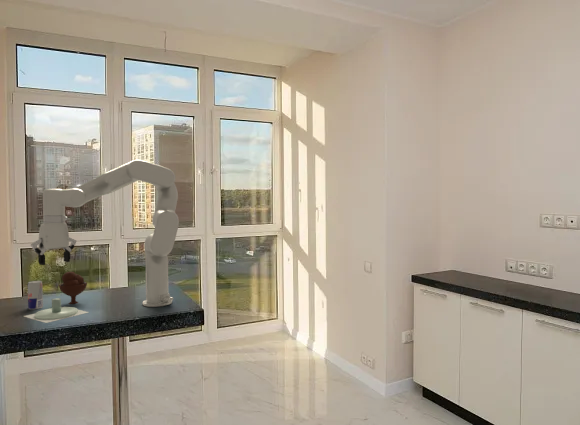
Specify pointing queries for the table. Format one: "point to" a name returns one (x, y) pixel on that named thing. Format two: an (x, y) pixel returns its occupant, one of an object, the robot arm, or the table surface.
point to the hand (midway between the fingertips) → (54, 263)
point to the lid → (56, 311)
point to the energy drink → (35, 295)
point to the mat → (54, 319)
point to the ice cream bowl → (72, 285)
